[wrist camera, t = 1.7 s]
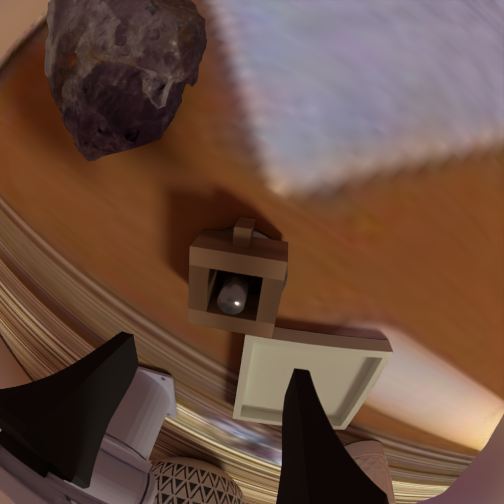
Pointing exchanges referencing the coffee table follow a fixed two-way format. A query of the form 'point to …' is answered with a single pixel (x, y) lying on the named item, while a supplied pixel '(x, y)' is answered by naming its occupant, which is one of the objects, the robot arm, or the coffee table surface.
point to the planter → (193, 483)
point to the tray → (321, 369)
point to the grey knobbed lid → (238, 285)
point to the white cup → (373, 464)
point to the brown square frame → (238, 261)
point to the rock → (121, 68)
